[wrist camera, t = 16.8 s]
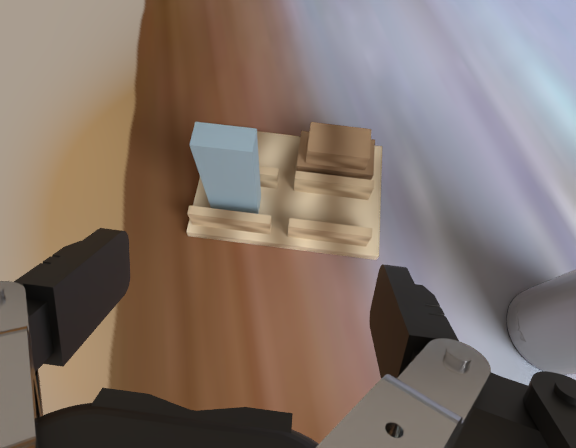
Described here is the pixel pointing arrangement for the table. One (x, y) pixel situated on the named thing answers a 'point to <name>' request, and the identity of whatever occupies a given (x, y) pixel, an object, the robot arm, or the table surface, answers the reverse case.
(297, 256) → the table surface
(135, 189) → the table surface
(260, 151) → the maple rack
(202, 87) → the table surface
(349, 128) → the upper walnut offcut
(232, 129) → the slate-blue rectangular block
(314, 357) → the table surface
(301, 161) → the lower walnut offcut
